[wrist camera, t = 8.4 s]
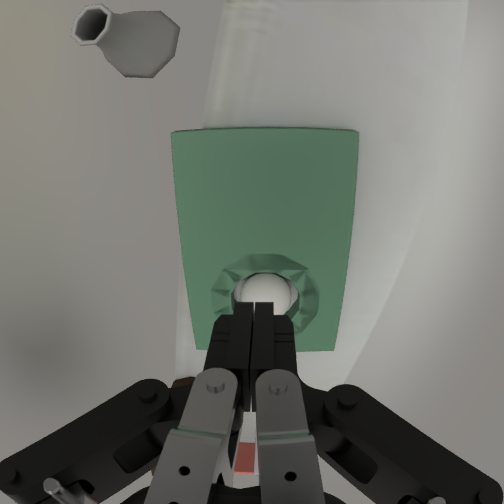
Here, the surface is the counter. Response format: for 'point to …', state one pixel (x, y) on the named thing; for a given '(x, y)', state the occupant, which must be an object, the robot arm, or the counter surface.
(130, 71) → the flask
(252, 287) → the ball
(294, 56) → the counter surface
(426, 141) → the counter surface
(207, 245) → the putting board
